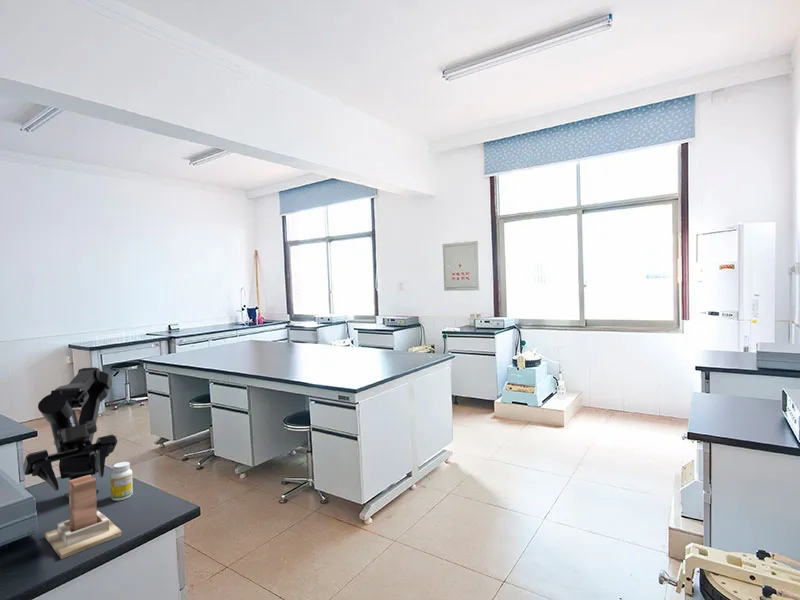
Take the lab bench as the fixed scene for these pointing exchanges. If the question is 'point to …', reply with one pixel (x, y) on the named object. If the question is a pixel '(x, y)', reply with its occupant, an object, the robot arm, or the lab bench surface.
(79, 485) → the peg
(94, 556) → the lab bench surface
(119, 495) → the supplement bottle
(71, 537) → the socket holder
